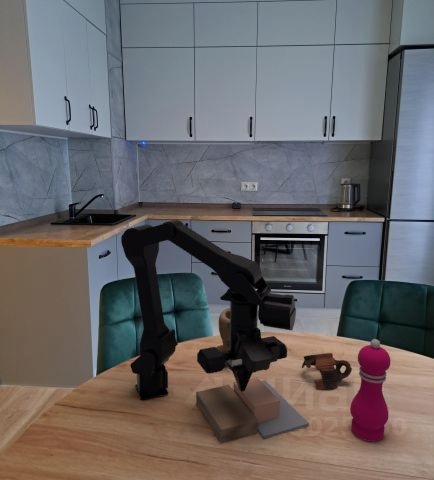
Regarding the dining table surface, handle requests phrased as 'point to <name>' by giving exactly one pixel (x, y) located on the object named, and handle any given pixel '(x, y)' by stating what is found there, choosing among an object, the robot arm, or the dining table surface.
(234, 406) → the ledge
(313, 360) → the pottery mug
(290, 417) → the mat
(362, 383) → the pepper mill
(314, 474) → the dining table surface
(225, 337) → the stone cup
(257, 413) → the salmon pink block
